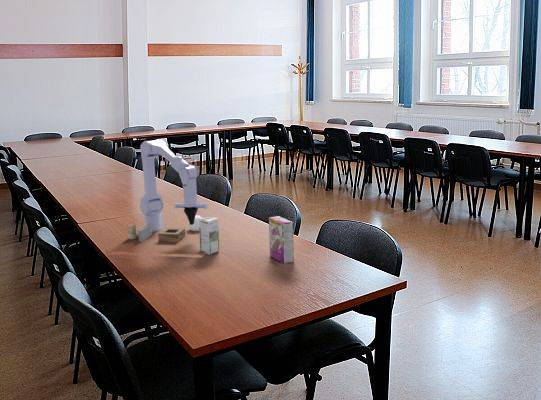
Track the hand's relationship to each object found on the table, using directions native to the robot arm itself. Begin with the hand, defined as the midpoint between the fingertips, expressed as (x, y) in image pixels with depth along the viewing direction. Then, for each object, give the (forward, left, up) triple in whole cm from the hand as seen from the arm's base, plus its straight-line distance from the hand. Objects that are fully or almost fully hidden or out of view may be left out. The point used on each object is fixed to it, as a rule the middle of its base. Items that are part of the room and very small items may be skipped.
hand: (191, 224), depth 245 cm
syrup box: (+14, +12, -8) cm, 20 cm away
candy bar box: (+20, +43, -8) cm, 48 cm away
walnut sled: (0, -10, -7) cm, 12 cm away
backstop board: (0, -13, -8) cm, 16 cm away
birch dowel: (+1, -28, -8) cm, 29 cm away
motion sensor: (-16, -3, -8) cm, 18 cm away
